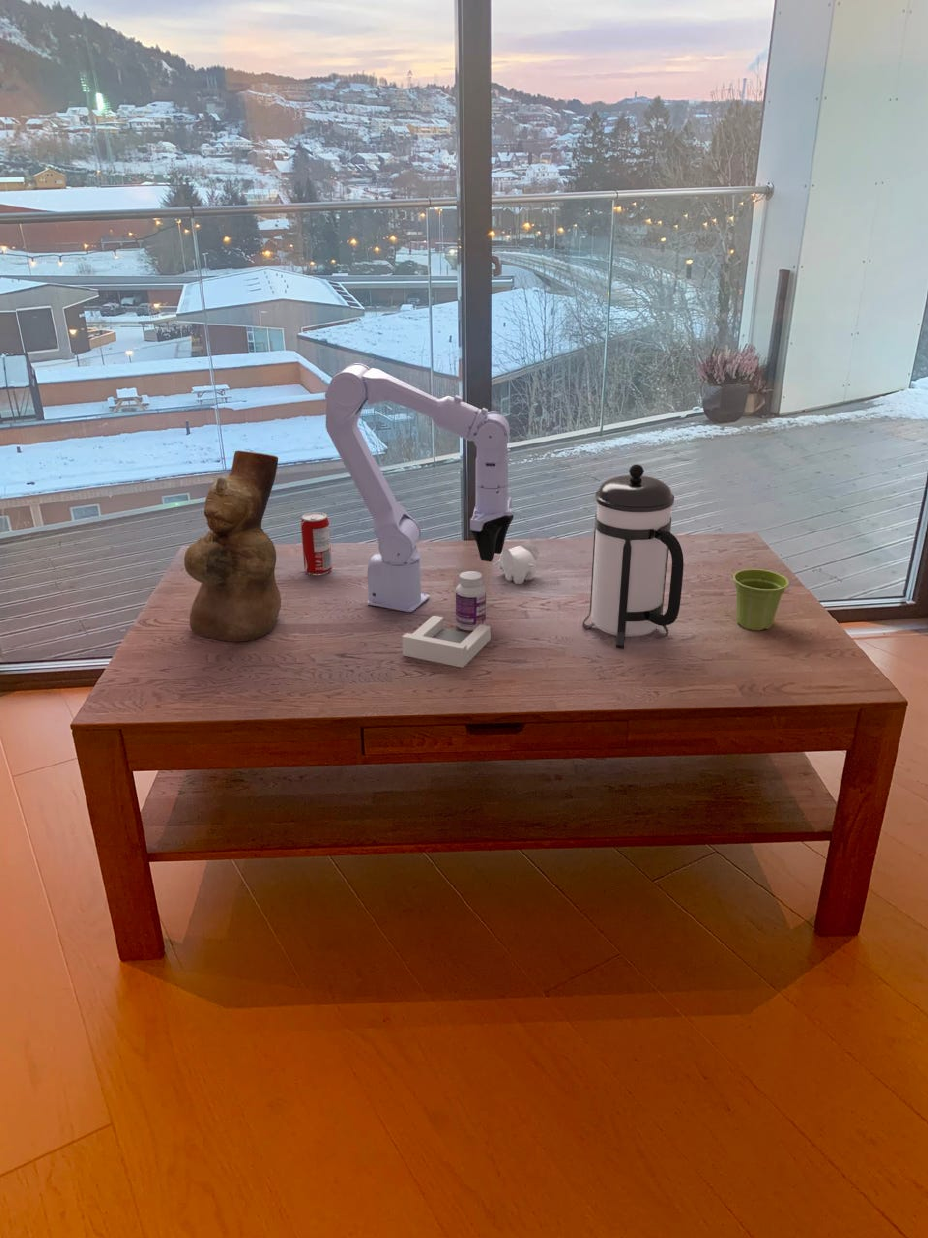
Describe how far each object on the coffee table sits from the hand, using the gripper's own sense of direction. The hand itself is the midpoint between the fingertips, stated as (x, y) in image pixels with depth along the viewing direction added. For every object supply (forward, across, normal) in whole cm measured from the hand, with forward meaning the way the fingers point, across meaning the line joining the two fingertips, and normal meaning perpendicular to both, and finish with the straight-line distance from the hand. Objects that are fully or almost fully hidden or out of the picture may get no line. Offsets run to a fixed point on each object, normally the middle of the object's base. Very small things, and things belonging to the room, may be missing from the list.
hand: (491, 556), depth 172 cm
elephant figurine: (+10, +15, +1) cm, 18 cm away
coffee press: (+10, -1, -27) cm, 29 cm away
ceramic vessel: (+10, -23, +38) cm, 46 cm away
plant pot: (+10, +12, -46) cm, 49 cm away
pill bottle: (+10, -9, 0) cm, 14 cm away
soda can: (+10, +2, +39) cm, 40 cm away
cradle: (+10, -18, 0) cm, 21 cm away
